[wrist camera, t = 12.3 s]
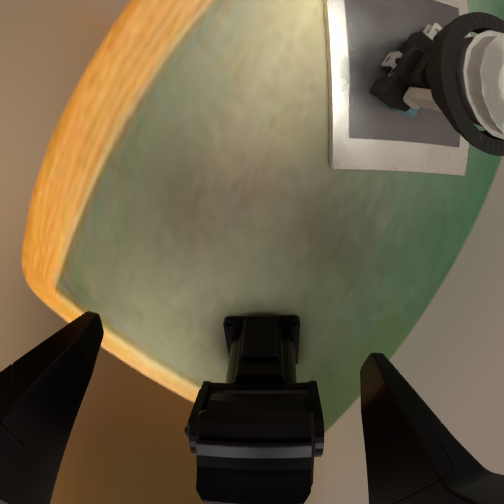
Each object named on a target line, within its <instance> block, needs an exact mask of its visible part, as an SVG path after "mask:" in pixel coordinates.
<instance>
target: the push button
mask: <svg viewBox="0 0 504 504" xmlns="http://www.w3.org/2000/svg"><path fill="white" fill-rule="evenodd" d="M435 29H438V30H439V32H438V33H437V31H436V30H435ZM428 30H430V31H429V33H427V31H428ZM471 31H472V32H475V33H478V35H476V36H475V37H466V38H465V36H466V35H467V34H469V33H470V32H471ZM389 57H390V58H389ZM388 58H389V60H388V61H387V59H388ZM386 61H387V62H386ZM381 66H382V67H386V66H391V69H390V71H389V72H388V74H387V75H386V77H385V78H382V79H379V80H377V81H376V82H375V83H374V85H373V86H372V88H371V90H370V93H371V94H373V95H374V96H376V97H377V98H379V99H380V100H381V101H383V102H384V103H385V104H387V105H388V106H389V107H391V108H392V109H393V110H395V111H396V112H397V113H400V114H403V115H406V116H409V117H414V116H415V115H416V114H417V113H418V111H419V109H420V108H421V107H424V108H428V109H431V110H435V111H438V112H442V113H443V114H444V115H445V117H446V118H447V120H448V121H449V122H450V124H451V125H452V127H453V128H454V130H455V131H456V132H458V133H460V135H461V136H462V137H463V138H464V139H465V140H466V141H467V142H469V143H470V144H471V145H473V146H474V147H476V148H477V149H479V150H481V151H483V152H485V153H488V154H491V155H496V156H504V21H503V20H501V19H499V18H498V17H496V16H493V15H491V14H487V13H482V12H473V13H468V14H463V15H461V16H458V17H457V18H455V19H454V20H452V21H451V22H450V23H449V24H447V25H445V26H444V27H443V28H442V27H441V26H439V25H438V24H437V23H434V24H433V26H430V25H427V26H426V28H425V29H424V31H423V32H422V31H420V32H416V33H412V34H411V35H410V36H409V37H408V39H407V41H406V44H405V46H404V48H403V49H402V51H401V53H400V52H399V51H397V52H396V51H395V52H390V53H388V54H387V56H386V58H385V59H384V61H383V62H382V65H381ZM473 123H474V124H477V125H480V126H482V127H484V128H485V129H486V131H479V130H478V129H477V127H476V126H475V125H474V124H473Z"/></svg>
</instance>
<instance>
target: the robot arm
mask: <svg viewBox="0 0 504 504" xmlns="http://www.w3.org/2000/svg"><path fill="white" fill-rule="evenodd" d="M293 321H296V322H293ZM228 322H230V323H228ZM223 325H224V331H225V336H226V342H227V347H228V352H229V364H228V372H227V379H226V383H211V382H210V381H204V382H203V385H202V387H201V389H200V390H199V393H198V395H197V398H196V401H195V404H194V407H193V409H192V412H191V415H190V418H189V420H188V424H187V425H186V427H185V434H186V436H187V437H188V438H189V444H190V449H191V452H192V454H193V455H196V456H197V482H196V490H197V492H198V494H199V496H200V497H201V499H202V501H203V502H204V503H213V504H304V502H305V501H306V499H307V498H308V496H309V494H310V492H311V486H312V484H313V466H314V457H321V456H322V453H323V447H324V421H323V414H322V408H321V403H320V398H319V393H318V387H317V382H316V381H309V382H305V383H297V382H296V364H297V363H298V348H299V331H300V320H299V318H298V317H297V316H276V317H227V318H225V319H224V323H223ZM103 334H104V331H103V327H102V323H101V319H100V315H99V314H98V313H94V312H90V311H88V312H85V313H84V314H82V315H81V316H79V317H78V318H77V319H75V320H74V321H72V322H71V323H69V324H68V325H66V326H65V327H63V328H62V329H60V330H59V331H58V332H56V333H55V334H53V335H52V336H50V337H49V338H47V339H46V340H45V341H43V342H42V343H40V344H39V345H38V346H36V347H35V348H34V349H32V350H31V351H29V352H28V353H26V354H25V355H24V356H22V357H21V358H19V359H18V360H16V361H15V362H14V363H13V365H12V364H11V365H9V366H8V367H7V368H5V369H4V370H3V371H1V372H0V504H50V501H51V497H52V493H53V490H54V486H55V482H56V479H57V475H58V471H59V468H60V464H61V461H62V458H63V455H64V451H65V448H66V445H67V442H68V439H69V436H70V433H71V430H72V427H73V424H74V421H75V419H76V416H77V413H78V410H79V408H80V405H81V402H82V400H83V397H84V394H85V392H86V389H87V387H88V384H89V381H90V379H91V376H92V373H93V370H94V366H95V363H96V359H97V356H98V352H99V349H100V346H101V342H102V339H103ZM360 381H361V414H362V423H363V433H364V442H365V453H366V463H367V476H368V491H369V504H504V475H500V474H496V473H492V472H490V471H489V470H487V469H485V468H484V467H483V466H482V465H481V464H480V463H479V462H478V461H477V460H476V459H475V458H474V457H473V456H472V455H471V454H470V453H469V452H468V451H467V450H466V449H465V448H464V447H463V446H462V445H461V444H460V443H459V442H458V441H457V440H456V439H455V438H454V436H453V435H452V434H451V433H450V432H449V431H448V429H447V428H446V427H445V426H444V425H443V423H441V421H440V420H439V419H438V418H437V416H436V415H435V414H434V413H433V412H432V410H431V409H430V408H429V407H428V406H427V404H426V403H425V402H424V401H423V400H422V398H421V397H420V396H419V395H418V394H417V393H416V392H415V390H414V389H413V388H412V387H411V386H410V385H409V383H408V382H407V381H406V380H405V378H404V377H403V376H402V375H401V374H400V373H399V372H398V370H397V369H396V368H395V367H394V366H393V365H392V363H391V362H390V361H389V360H388V359H387V358H386V357H385V355H384V354H382V353H371V354H370V355H369V356H368V358H367V359H366V361H365V362H364V364H363V366H362V368H361V371H360Z"/></svg>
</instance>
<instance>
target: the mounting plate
mask: <svg viewBox="0 0 504 504" xmlns="http://www.w3.org/2000/svg"><path fill="white" fill-rule="evenodd" d="M323 7H324V19H325V32H326V47H327V65H328V92H329V165H330V166H331V168H332V169H362V170H392V171H412V172H428V173H441V174H453V175H463V176H465V171H466V164H467V156H468V148H469V142H467V141H466V140H465V139H464V138H463V137H462V136H461V135H460V133H458V132H456V131H455V130H454V128H453V127H452V125H451V124H450V122H449V121H448V120H447V118H446V117H445V115H444V114H443V113H442V112H438V111H435V110H431V109H428V108H424V107H421V108H420V109H419V111H418V113H417V114H416V115H415V116H414V117H409V116H406V115H403V114H400V113H397V112H396V111H395V110H393V109H392V108H391V107H389V106H388V105H387V104H385V103H384V102H383V101H381V100H380V99H379V98H377V97H376V96H374V95H373V94H371V93H370V90H371V88H372V86H373V85H374V83H375V82H376V81H377V80H379V79H382V78H385V77H386V75H387V74H388V72H389V71H390V69H391V66H386V67H382V66H381V65H382V62H383V61H384V59H385V58H386V56H387V54H388V53H390V52H395V51H396V52H397V51H399V52H400V53H401V51H402V49H403V48H404V46H405V44H406V41H407V39H408V37H409V36H410V35H411V34H412V33H416V32H420V31H422V32H423V31H424V29H425V28H426V26H427V25H430V26H433V24H434V23H437V24H438V25H439V26H441V27H442V28H443V27H444V26H445V25H447V24H449V23H450V22H451V21H452V20H454V19H455V18H457V17H458V16H461V15H463V14H468V7H467V0H323ZM435 30H436V31H437V33H438V32H439V30H438V29H435ZM429 31H430V30H428V31H427V33H429ZM466 37H471V34H470V33H469V34H467V35H466V36H465V38H466ZM389 58H390V57H389ZM389 58H388V59H387V61H388V60H389ZM387 61H386V62H387Z"/></svg>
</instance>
